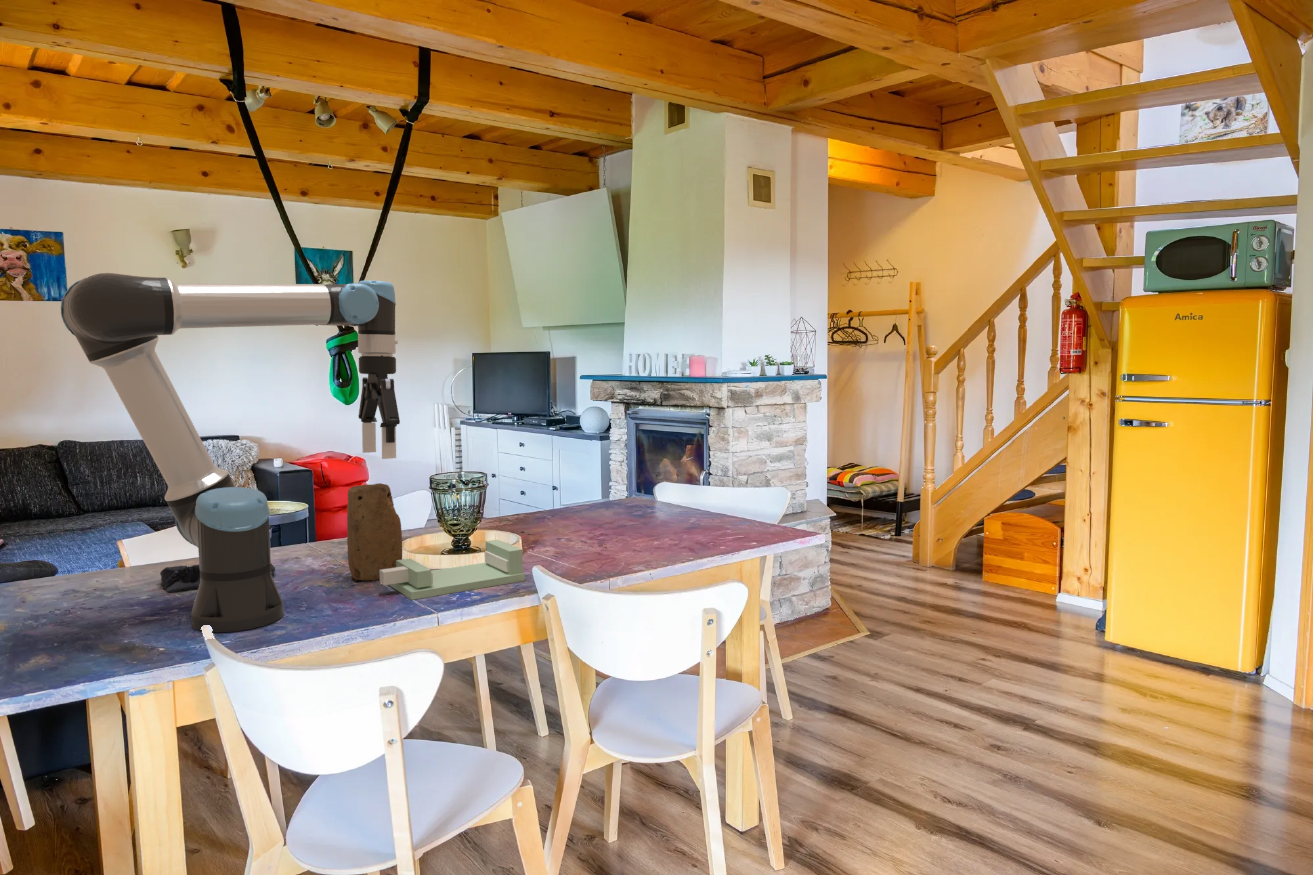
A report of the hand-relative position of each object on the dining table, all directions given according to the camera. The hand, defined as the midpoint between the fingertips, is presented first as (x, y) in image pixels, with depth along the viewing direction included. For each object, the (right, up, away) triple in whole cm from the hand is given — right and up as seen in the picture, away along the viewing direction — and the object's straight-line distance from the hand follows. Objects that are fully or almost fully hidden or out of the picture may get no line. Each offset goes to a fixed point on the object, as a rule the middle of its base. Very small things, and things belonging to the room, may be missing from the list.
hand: (378, 455), depth 188 cm
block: (-1, -26, +2) cm, 26 cm away
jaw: (+8, -25, -10) cm, 28 cm away
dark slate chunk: (-34, -27, +1) cm, 44 cm away
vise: (+18, -27, -3) cm, 32 cm away
